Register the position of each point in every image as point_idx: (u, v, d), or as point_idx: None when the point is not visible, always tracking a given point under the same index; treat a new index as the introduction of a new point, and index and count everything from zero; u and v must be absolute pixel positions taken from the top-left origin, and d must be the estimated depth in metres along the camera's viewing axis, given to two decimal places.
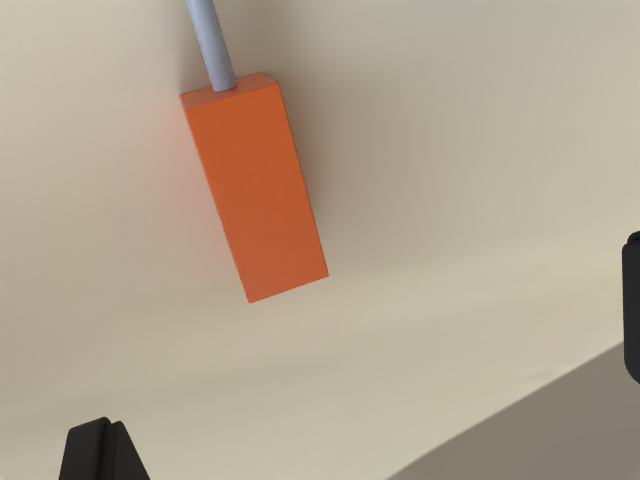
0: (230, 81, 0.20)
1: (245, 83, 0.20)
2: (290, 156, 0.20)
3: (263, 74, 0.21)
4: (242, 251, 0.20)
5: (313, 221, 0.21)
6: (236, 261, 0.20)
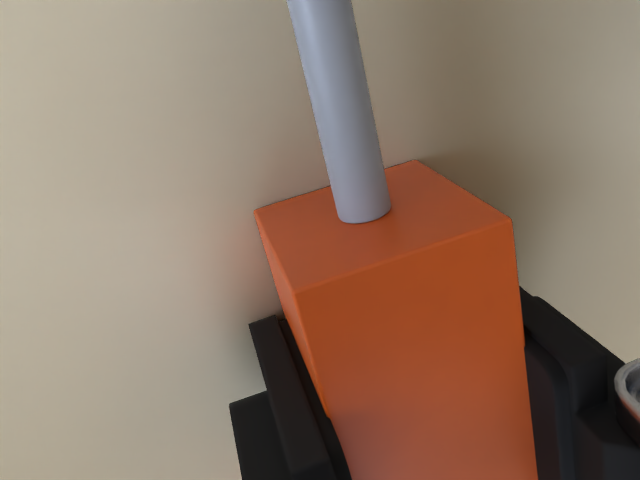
0: (381, 201, 0.09)
1: (407, 199, 0.09)
2: (513, 370, 0.09)
3: (433, 171, 0.10)
4: None
5: None
6: None
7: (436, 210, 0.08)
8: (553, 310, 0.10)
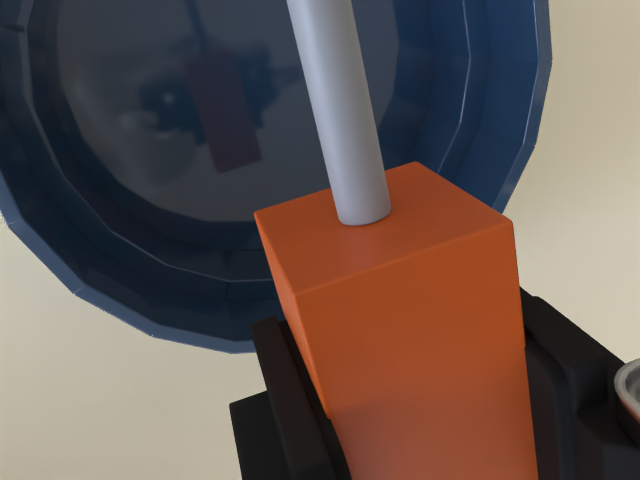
0: (382, 203, 0.09)
1: (407, 201, 0.09)
2: (514, 372, 0.09)
3: (433, 172, 0.10)
4: None
5: None
6: None
7: (437, 212, 0.08)
8: (553, 310, 0.10)
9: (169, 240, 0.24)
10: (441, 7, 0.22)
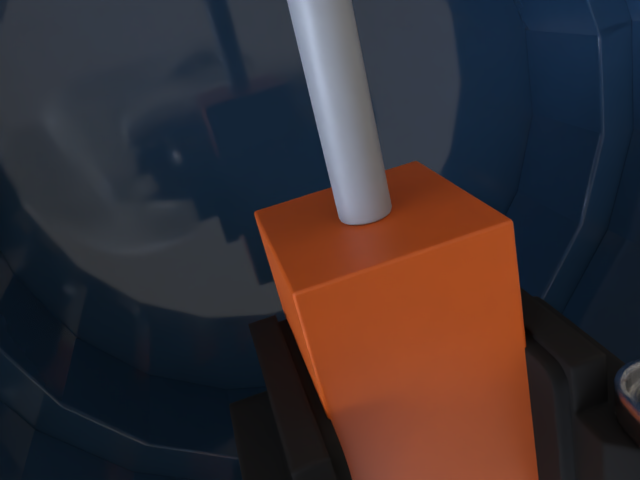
0: (382, 203, 0.09)
1: (408, 201, 0.09)
2: (514, 372, 0.09)
3: (434, 172, 0.10)
4: None
5: None
6: None
7: (437, 212, 0.08)
8: (553, 310, 0.10)
9: (153, 384, 0.17)
10: (553, 55, 0.15)
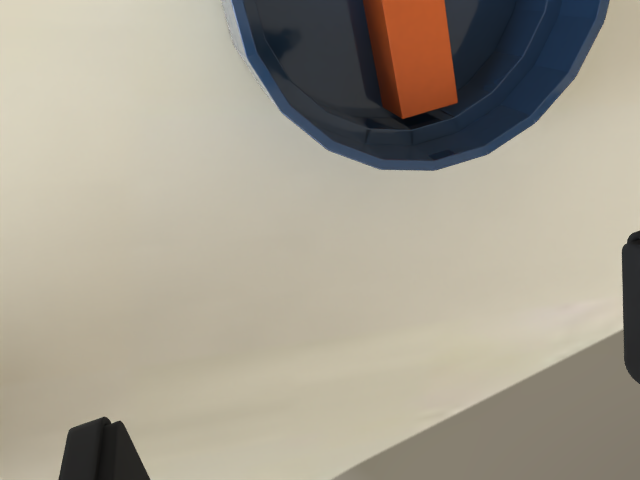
0: None
1: None
2: (440, 8, 0.28)
3: None
4: (402, 77, 0.29)
5: (451, 59, 0.29)
6: (397, 85, 0.29)
7: None
8: None
9: (319, 103, 0.32)
10: None
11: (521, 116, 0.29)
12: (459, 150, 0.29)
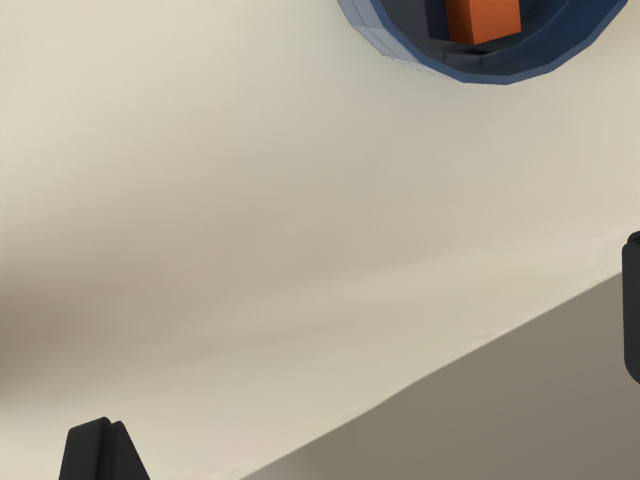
0: None
1: None
2: None
3: None
4: (475, 7, 0.34)
5: None
6: (471, 14, 0.34)
7: None
8: None
9: None
10: None
11: (579, 39, 0.33)
12: (527, 68, 0.33)
